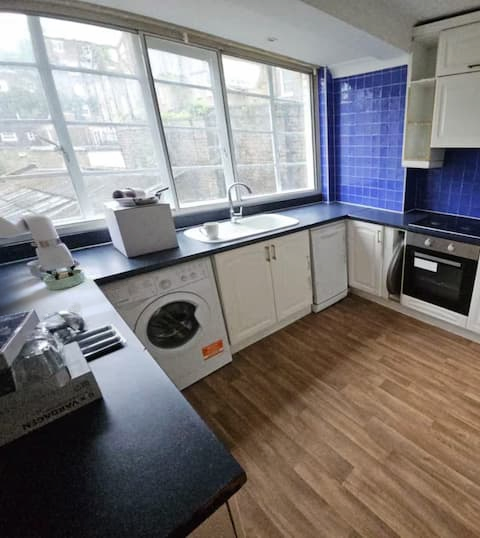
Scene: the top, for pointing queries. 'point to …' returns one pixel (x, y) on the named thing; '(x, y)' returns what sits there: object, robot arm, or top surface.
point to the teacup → (38, 269)
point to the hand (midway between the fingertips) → (66, 280)
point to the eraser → (63, 275)
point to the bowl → (64, 280)
